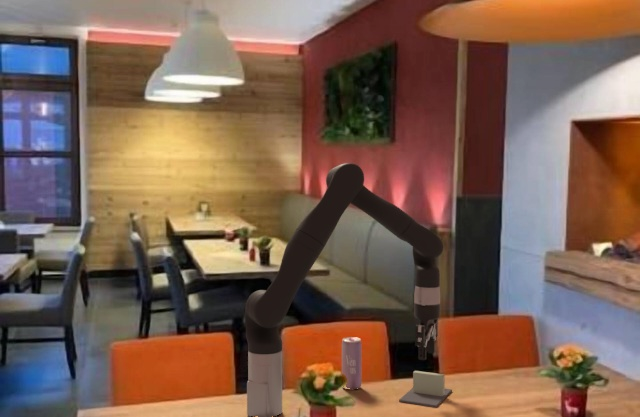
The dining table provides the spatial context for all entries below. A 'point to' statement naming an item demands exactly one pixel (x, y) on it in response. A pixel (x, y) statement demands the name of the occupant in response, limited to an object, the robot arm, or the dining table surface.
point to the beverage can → (351, 361)
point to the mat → (424, 398)
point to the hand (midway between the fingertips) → (426, 356)
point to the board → (428, 383)
